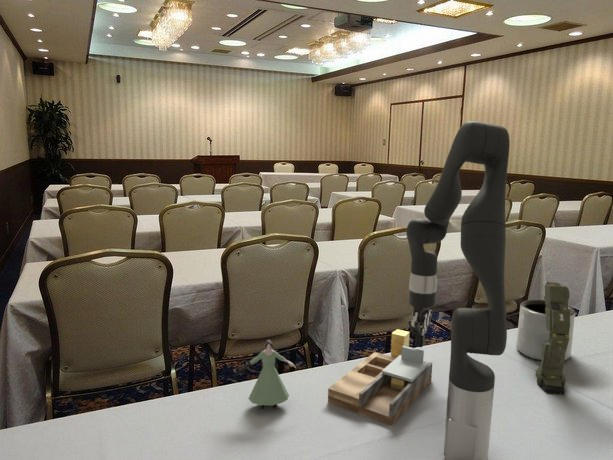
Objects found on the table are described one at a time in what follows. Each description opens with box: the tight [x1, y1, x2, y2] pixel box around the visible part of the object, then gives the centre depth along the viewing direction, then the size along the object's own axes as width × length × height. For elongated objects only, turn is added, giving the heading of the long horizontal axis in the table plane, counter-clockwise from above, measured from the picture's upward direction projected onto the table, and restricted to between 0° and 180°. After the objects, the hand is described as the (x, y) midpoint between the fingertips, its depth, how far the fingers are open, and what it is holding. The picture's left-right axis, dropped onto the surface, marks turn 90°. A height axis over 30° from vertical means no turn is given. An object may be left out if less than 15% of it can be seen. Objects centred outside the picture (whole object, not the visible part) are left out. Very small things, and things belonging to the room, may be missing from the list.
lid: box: [382, 346, 430, 382], centre depth 136 cm, size 12×9×4 cm
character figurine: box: [234, 339, 297, 411], centre depth 126 cm, size 16×8×18 cm, turn 100°
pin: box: [390, 328, 411, 358], centre depth 152 cm, size 4×4×10 cm
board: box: [327, 351, 433, 426], centre depth 135 cm, size 27×18×6 cm, turn 146°
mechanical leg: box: [534, 281, 570, 396], centre depth 139 cm, size 14×7×30 cm, turn 168°
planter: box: [515, 299, 576, 362], centre depth 160 cm, size 16×16×16 cm
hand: (419, 345), depth 143 cm, fingers closed
